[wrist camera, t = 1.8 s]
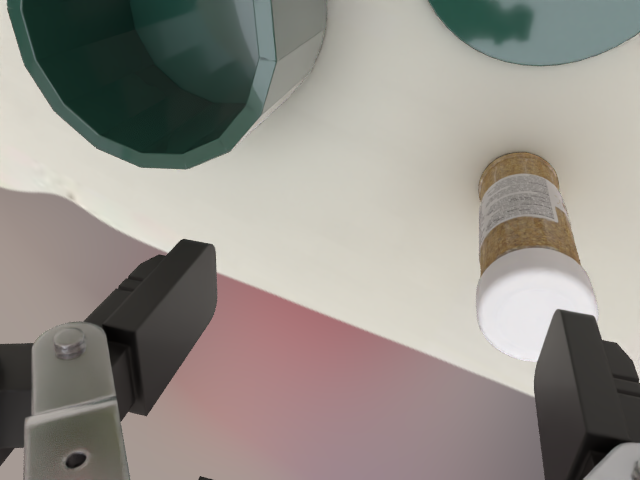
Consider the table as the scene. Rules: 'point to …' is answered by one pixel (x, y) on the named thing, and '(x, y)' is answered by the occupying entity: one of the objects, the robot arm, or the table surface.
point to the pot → (167, 69)
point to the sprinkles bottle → (526, 256)
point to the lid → (540, 27)
